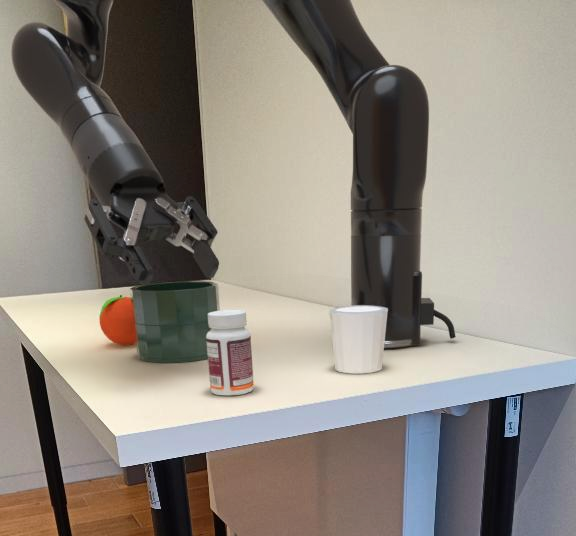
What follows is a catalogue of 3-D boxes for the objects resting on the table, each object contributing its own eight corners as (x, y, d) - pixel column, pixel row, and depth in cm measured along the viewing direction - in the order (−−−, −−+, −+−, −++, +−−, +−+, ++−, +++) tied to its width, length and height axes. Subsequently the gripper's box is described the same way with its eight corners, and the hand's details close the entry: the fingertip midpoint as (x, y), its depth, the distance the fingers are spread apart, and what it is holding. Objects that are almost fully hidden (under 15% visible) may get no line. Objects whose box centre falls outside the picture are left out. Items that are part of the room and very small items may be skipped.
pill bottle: (256, 385, 84) (252, 308, 80) (250, 396, 79) (245, 314, 76) (214, 386, 84) (209, 309, 81) (206, 396, 80) (199, 316, 77)
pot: (227, 345, 108) (222, 280, 104) (215, 361, 97) (210, 289, 94) (149, 347, 108) (142, 282, 105) (128, 363, 98) (120, 292, 94)
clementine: (122, 351, 106) (116, 299, 103) (87, 348, 109) (80, 298, 107) (159, 342, 112) (154, 292, 109) (125, 339, 116) (119, 291, 113)
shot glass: (392, 363, 92) (393, 304, 89) (380, 375, 86) (381, 313, 83) (338, 361, 94) (338, 304, 91) (322, 373, 88) (321, 312, 85)
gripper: (67, 139, 79) (135, 256, 76) (180, 141, 88) (246, 247, 84) (52, 195, 85) (116, 307, 81) (160, 192, 93) (221, 293, 90)
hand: (182, 276), depth 83 cm, fingers open, 8 cm apart
